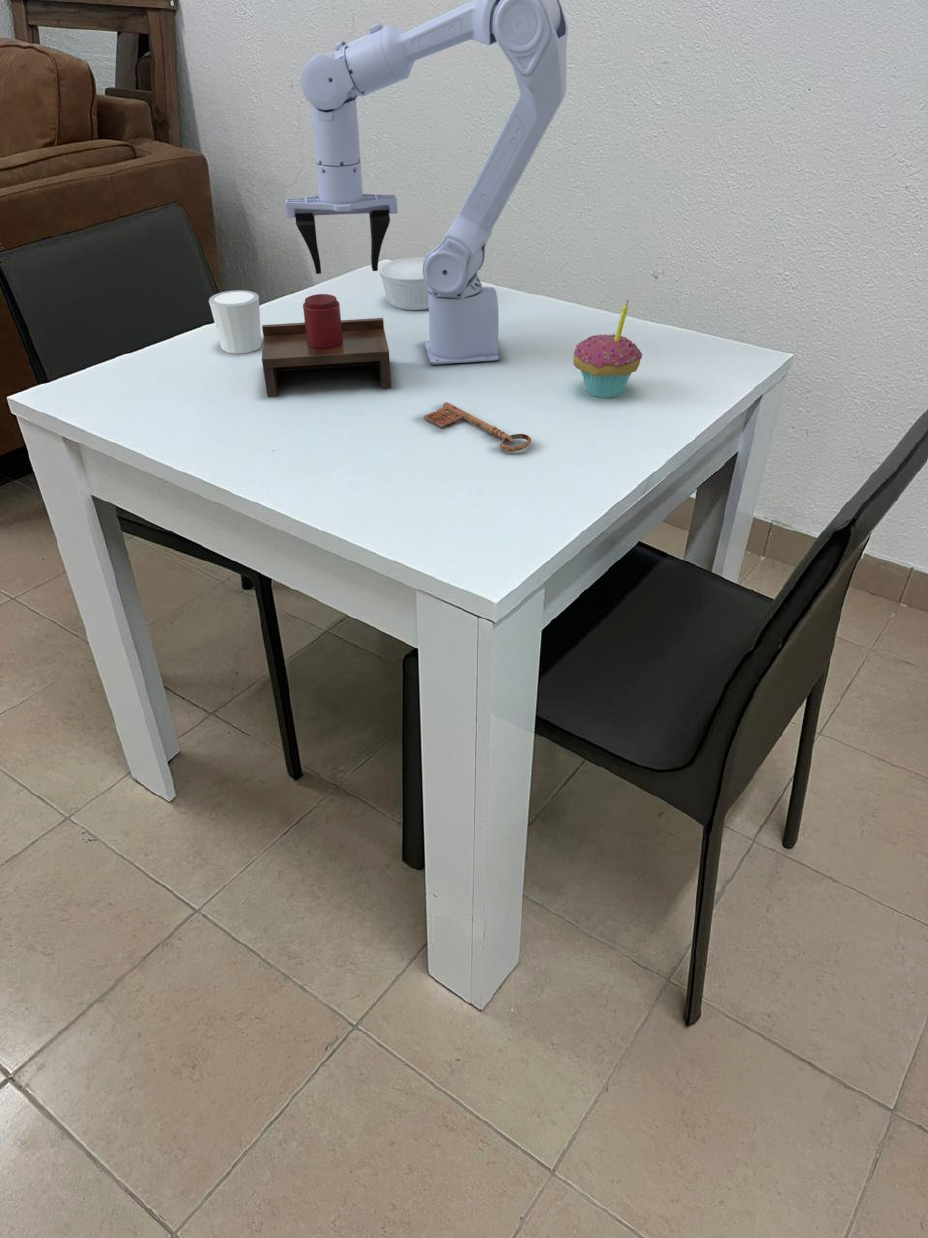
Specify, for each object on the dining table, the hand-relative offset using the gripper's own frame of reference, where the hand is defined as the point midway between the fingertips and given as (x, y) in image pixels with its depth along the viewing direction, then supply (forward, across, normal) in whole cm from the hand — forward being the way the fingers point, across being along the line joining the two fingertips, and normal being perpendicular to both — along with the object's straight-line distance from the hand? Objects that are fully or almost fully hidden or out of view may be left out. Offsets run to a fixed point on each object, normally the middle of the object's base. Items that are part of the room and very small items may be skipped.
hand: (346, 270), depth 126 cm
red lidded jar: (+5, -4, -12) cm, 14 cm away
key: (+10, +13, -31) cm, 35 cm away
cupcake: (+10, +31, -22) cm, 40 cm away
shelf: (+10, -4, -12) cm, 16 cm away
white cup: (+11, -16, +2) cm, 19 cm away
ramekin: (+11, +11, +17) cm, 23 cm away
